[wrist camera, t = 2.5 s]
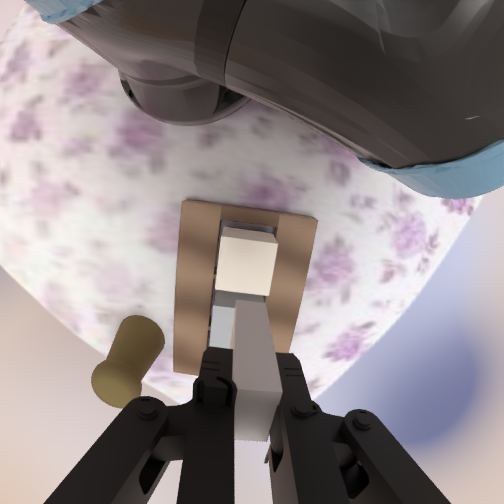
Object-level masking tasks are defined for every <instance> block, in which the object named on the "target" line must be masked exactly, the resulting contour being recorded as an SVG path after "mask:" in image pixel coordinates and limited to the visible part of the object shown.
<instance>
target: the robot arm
mask: <svg viewBox="0 0 504 504" xmlns="http://www.w3.org/2000/svg"><path fill="white" fill-rule="evenodd" d="M24 1H26V2H27V3H28V4H29V5H31V6H32V7H33V8H34V9H35V10H36V11H38V12H39V13H40V16H41V19H42V20H43V21H46V22H47V23H50V24H56V25H57V26H59V27H60V28H62V29H63V30H65V31H66V32H68V33H69V34H71V35H72V36H74V37H75V38H76V39H78V40H79V41H81V42H82V43H84V44H85V45H86V46H88V47H89V48H91V49H92V50H93V51H95V52H96V53H97V54H99V55H100V56H101V57H103V58H104V59H106V60H107V61H108V62H110V63H111V64H112V65H114V66H115V67H116V68H118V72H119V76H120V80H121V84H122V86H123V89H124V91H125V93H126V94H127V96H128V97H129V99H130V100H131V101H132V102H133V103H134V105H135V106H137V107H138V108H139V109H140V110H142V111H143V112H145V113H146V114H148V115H150V116H151V117H153V118H155V119H157V120H159V121H162V122H165V123H169V124H173V125H181V126H193V125H201V124H206V123H210V122H214V121H217V120H219V119H222V118H224V117H226V116H228V115H230V114H232V113H234V112H235V111H237V110H238V109H240V108H241V107H242V106H243V105H245V104H246V103H247V102H248V101H249V100H250V99H253V100H256V101H258V102H260V103H262V104H264V105H266V106H268V107H270V108H273V109H275V110H277V111H279V112H281V113H283V114H285V115H287V116H289V117H290V118H292V119H294V120H296V121H298V122H300V123H302V124H304V125H306V126H307V127H309V128H311V129H313V130H315V131H316V132H318V133H320V134H322V135H323V136H325V137H327V138H329V139H330V140H332V141H334V142H335V143H337V144H339V145H340V146H342V147H344V148H345V149H347V150H349V151H350V152H352V153H353V154H355V155H356V156H357V158H358V159H359V160H360V161H361V162H362V163H364V164H365V165H367V166H368V167H370V168H372V169H375V170H377V171H381V172H385V173H387V174H389V175H391V176H392V177H394V178H395V179H397V180H398V181H400V182H402V183H403V184H405V185H406V186H408V187H409V188H411V189H412V190H414V191H416V192H418V193H421V194H424V195H426V196H430V197H441V198H445V199H465V198H471V197H475V196H479V195H482V194H486V193H488V192H491V191H493V190H495V189H498V188H500V187H501V186H503V185H504V0H24ZM269 434H270V442H271V444H270V446H269V449H268V452H267V455H266V458H265V462H264V463H268V460H269V467H270V478H271V488H272V498H273V504H451V503H450V502H449V501H448V499H447V498H446V497H445V496H444V495H443V494H442V492H441V491H440V490H439V489H438V488H437V487H436V486H435V484H434V483H433V482H432V481H431V480H430V479H429V477H428V476H427V475H426V474H425V473H424V472H423V471H422V469H421V468H420V467H419V466H418V465H417V463H416V462H415V461H414V460H413V459H412V458H411V456H410V455H409V454H408V453H407V452H406V451H405V449H404V448H403V447H402V446H401V445H400V443H399V442H398V441H397V440H396V439H395V437H394V436H393V435H392V434H391V433H390V432H389V431H388V429H387V428H386V427H385V426H384V425H383V423H382V422H381V421H380V420H379V419H378V418H377V416H375V415H374V414H373V413H371V412H369V411H367V410H362V409H357V410H352V411H350V412H348V413H347V414H346V416H345V417H340V416H335V415H330V414H326V413H324V412H322V410H321V408H320V407H319V405H318V404H316V403H315V402H314V401H312V400H311V397H310V394H309V391H308V387H307V384H306V380H305V377H304V374H303V370H302V367H301V364H300V361H299V360H298V358H297V357H296V356H295V355H294V354H293V353H279V352H275V348H274V343H273V338H272V332H271V327H270V322H269V316H268V311H267V306H266V303H262V302H253V301H245V300H237V299H236V305H235V312H234V319H233V327H232V334H231V341H230V349H228V348H220V347H212V346H209V347H208V348H207V349H206V350H205V351H204V352H203V356H202V362H201V367H200V372H199V377H198V378H197V379H196V380H195V381H194V383H193V398H192V400H190V401H189V402H187V403H185V404H182V405H177V406H166V405H165V404H164V403H163V402H162V401H160V400H159V399H157V398H153V397H150V396H140V397H137V398H134V399H132V400H131V401H130V402H129V403H128V404H127V405H126V406H125V407H124V408H123V410H122V411H121V412H120V413H119V414H118V416H117V417H116V418H115V419H114V420H113V421H112V423H111V424H110V425H109V426H108V427H107V429H106V430H105V431H104V432H103V433H102V435H101V436H100V437H99V438H98V439H97V441H96V442H95V443H94V444H93V445H92V447H91V448H90V449H89V450H88V451H87V453H86V454H85V455H84V456H83V457H82V459H81V460H80V461H79V462H78V463H77V464H76V466H75V467H74V468H73V469H72V470H71V471H70V473H69V474H68V475H67V476H66V477H65V479H64V480H63V481H62V482H61V483H60V485H59V486H58V487H57V488H56V489H55V491H54V492H53V493H52V494H51V495H50V496H49V498H48V499H47V500H46V501H45V502H44V504H147V502H148V501H149V499H150V497H151V495H152V494H153V492H154V490H155V488H156V487H157V485H158V483H159V481H160V479H161V478H162V476H163V474H164V472H165V470H166V468H167V467H168V465H169V463H170V461H174V460H183V463H182V469H181V476H180V482H179V489H178V496H177V503H176V504H234V503H235V501H234V440H244V441H266V442H267V440H268V437H269Z"/></svg>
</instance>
